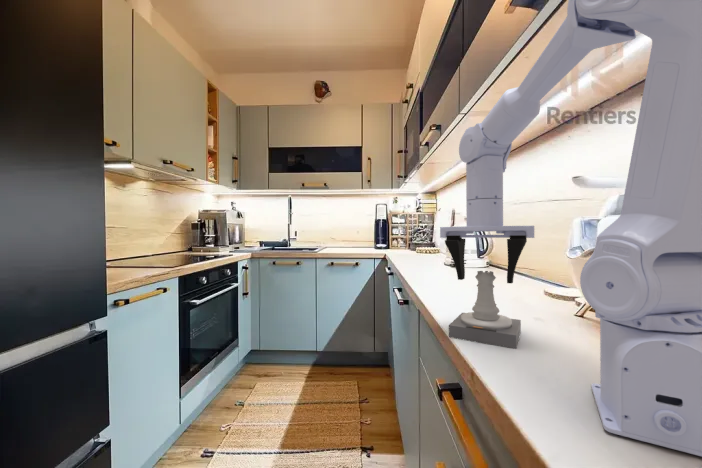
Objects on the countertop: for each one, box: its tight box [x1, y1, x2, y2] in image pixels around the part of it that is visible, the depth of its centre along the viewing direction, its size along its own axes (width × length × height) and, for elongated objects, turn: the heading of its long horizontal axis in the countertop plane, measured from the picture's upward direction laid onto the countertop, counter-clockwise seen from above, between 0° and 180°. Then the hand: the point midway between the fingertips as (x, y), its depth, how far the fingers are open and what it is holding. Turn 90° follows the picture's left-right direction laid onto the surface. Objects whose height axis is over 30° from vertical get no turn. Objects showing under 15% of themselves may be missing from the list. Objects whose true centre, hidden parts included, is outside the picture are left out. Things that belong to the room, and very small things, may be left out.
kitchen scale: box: [448, 311, 522, 350], centre depth 53 cm, size 10×10×3 cm
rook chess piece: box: [471, 270, 500, 321], centre depth 53 cm, size 4×4×8 cm
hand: (484, 280), depth 52 cm, fingers open, 7 cm apart
